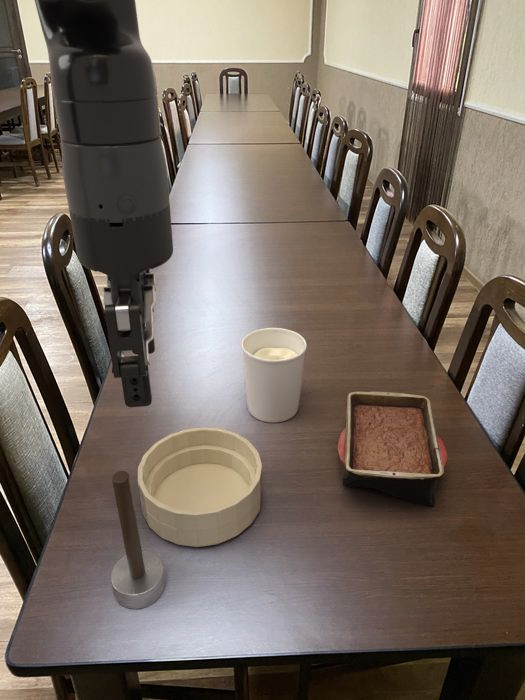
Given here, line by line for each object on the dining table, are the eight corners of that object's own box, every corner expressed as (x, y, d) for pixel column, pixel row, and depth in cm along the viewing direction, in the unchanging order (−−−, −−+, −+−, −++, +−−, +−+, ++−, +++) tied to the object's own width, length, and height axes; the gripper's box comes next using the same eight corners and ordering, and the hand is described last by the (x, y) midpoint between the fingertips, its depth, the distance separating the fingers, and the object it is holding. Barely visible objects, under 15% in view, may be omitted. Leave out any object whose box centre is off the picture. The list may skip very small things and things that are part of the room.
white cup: (237, 422, 83) (235, 357, 77) (248, 386, 92) (247, 325, 85) (300, 429, 82) (303, 363, 76) (305, 392, 90) (309, 330, 84)
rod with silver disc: (122, 618, 56) (98, 507, 47) (107, 576, 60) (83, 468, 52) (173, 594, 58) (158, 485, 50) (155, 556, 62) (139, 449, 54)
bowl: (167, 569, 61) (163, 534, 58) (128, 483, 72) (122, 450, 69) (283, 519, 67) (284, 484, 64) (229, 447, 79) (228, 414, 75)
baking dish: (325, 510, 71) (335, 463, 64) (342, 413, 84) (351, 366, 78) (436, 536, 69) (458, 490, 62) (435, 432, 82) (453, 386, 76)
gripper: (82, 178, 46) (107, 340, 55) (49, 232, 34) (89, 429, 43) (169, 176, 47) (182, 336, 56) (168, 228, 35) (184, 422, 44)
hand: (141, 376), depth 49 cm, fingers open, 8 cm apart
